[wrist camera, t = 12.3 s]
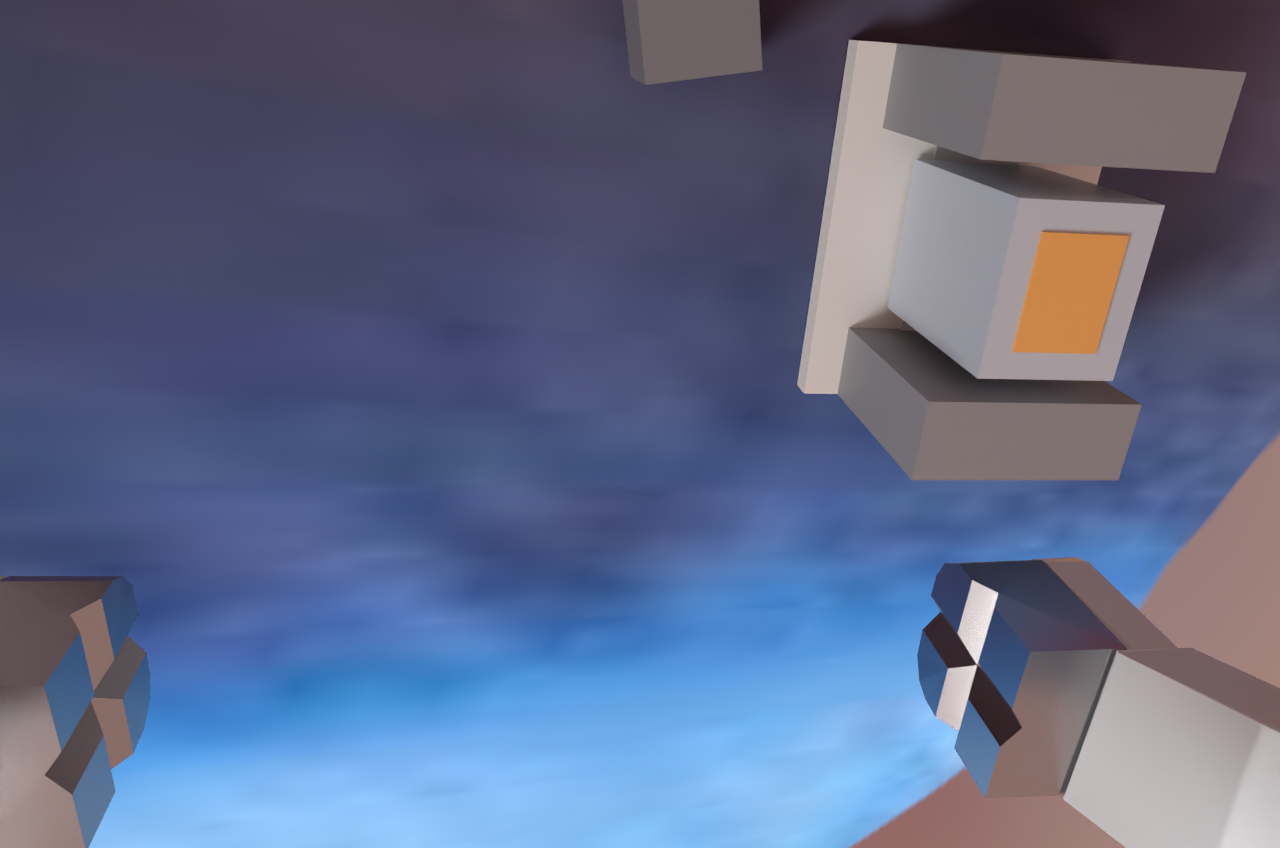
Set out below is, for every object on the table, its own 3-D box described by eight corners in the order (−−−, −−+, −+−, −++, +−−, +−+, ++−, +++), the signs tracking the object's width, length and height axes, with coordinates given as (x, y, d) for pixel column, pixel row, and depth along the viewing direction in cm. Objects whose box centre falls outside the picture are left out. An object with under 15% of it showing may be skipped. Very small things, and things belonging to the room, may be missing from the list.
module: (915, 158, 36) (1021, 198, 29) (1033, 165, 37) (1167, 206, 29) (887, 308, 38) (978, 379, 31) (999, 311, 39) (1114, 382, 32)
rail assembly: (849, 39, 35) (955, 50, 27) (1114, 60, 36) (1289, 75, 28) (797, 384, 40) (871, 480, 32) (1029, 388, 42) (1155, 480, 34)
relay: (621, -12, 33) (635, -15, 30) (730, -25, 33) (757, -29, 30) (630, 76, 34) (645, 84, 31) (735, 63, 35) (762, 70, 31)
